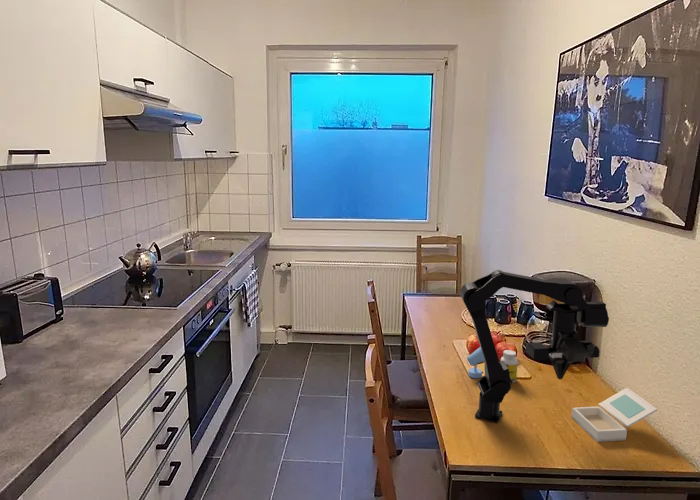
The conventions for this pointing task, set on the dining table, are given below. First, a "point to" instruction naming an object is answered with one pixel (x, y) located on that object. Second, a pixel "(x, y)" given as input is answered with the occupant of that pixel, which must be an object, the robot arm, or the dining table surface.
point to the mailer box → (599, 424)
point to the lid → (627, 407)
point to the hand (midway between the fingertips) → (559, 378)
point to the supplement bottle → (510, 363)
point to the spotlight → (475, 363)
